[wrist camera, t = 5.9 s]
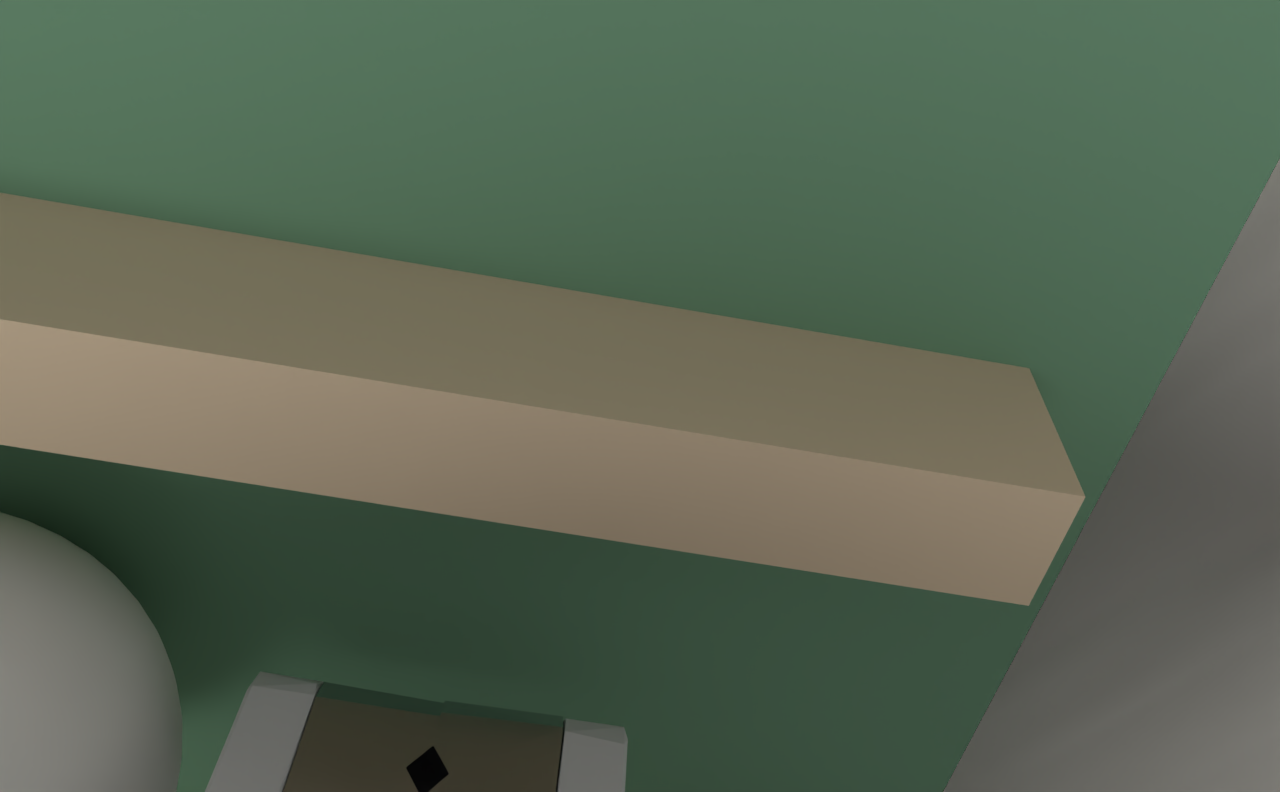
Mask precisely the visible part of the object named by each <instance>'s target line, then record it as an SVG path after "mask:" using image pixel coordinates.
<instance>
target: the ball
mask: <svg viewBox="0 0 1280 792" xmlns="http://www.w3.org/2000/svg"><path fill="white" fill-rule="evenodd" d="M181 759H182V714H181V707H180V700H179V695H178V689H177V684H176V679H175V676H174V672H173V669H172V666H171V663H170V660H169V658H168V655H167V652H166V650H165V647H164V645H163V642H162V640H161V638H160V636H159V633H158V631H157V630H156V628H155V626H154V625H153V623H152V622H151V620H150V619H149V617H148V615H147V614H146V612H145V611H144V609H143V608H142V606H141V604H140V603H139V602H138V600H137V599H136V598H135V597H134V596H133V595H132V593H131V592H130V591H129V590H128V589H127V588H126V587H125V586H124V584H123V583H122V582H121V581H120V580H119V579H118V578H117V577H116V576H115V575H114V574H113V573H112V572H111V571H110V570H109V569H107V568H106V567H105V566H104V565H103V564H101V563H100V562H99V561H98V560H97V559H95V558H94V557H93V556H92V555H91V554H89V553H88V552H86V551H84V550H83V549H81V548H79V547H78V546H76V545H75V544H73V543H71V542H70V541H68V540H67V539H65V538H63V537H62V536H60V535H58V534H56V533H54V532H51V531H49V530H47V529H45V528H43V527H40V526H38V525H36V524H34V523H32V522H29V521H27V520H24V519H21V518H17V517H14V516H11V515H8V514H4V513H1V512H0V792H176V789H177V784H178V778H179V772H180V766H181Z"/></svg>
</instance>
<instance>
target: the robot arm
mask: <svg viewBox="0 0 1280 792" xmlns="http://www.w3.org/2000/svg"><path fill="white" fill-rule="evenodd" d="M627 745H628V738H627V735H626V732H625V729H624V727H622V726H615V725H608V724H601V723H594V722H587V721H580V720H573V719H565V720H564V721H563V716H556V715H549V714H541V713H534V712H526V711H519V710H512V709H504V708H497V707H490V706H482V705H475V704H467V703H460V702H453V701H445V702H444V703H441V702H436V701H430V700H424V699H419V698H413V697H407V696H402V695H396V694H391V693H385V692H379V691H374V690H368V689H362V688H357V687H351V686H345V685H340V684H334V683H328V682H323V681H317V680H310V679H304V678H298V677H291V676H285V675H279V674H273V673H266V672H259V674H258V675H257V677H256V678H255V679H254V681H253V682H252V683H251V685H250V686H249V687H248V689H247V691H246V693H245V696H244V698H243V701H242V703H241V706H240V708H239V710H238V713H237V715H236V718H235V720H234V722H233V725H232V727H231V730H230V732H229V735H228V737H227V739H226V742H225V744H224V747H223V749H222V751H221V754H220V756H219V759H218V761H217V763H216V766H215V768H214V771H213V773H212V776H211V778H210V780H209V783H208V785H207V788H206V790H205V792H625V781H626V763H627Z"/></svg>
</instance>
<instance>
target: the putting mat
mask: <svg viewBox="0 0 1280 792" xmlns="http://www.w3.org/2000/svg"><path fill="white" fill-rule="evenodd" d="M1279 158H1280V0H0V512H1V513H4V514H8V515H11V516H14V517H17V518H21V519H24V520H27V521H29V522H32V523H34V524H36V525H38V526H40V527H43V528H45V529H47V530H49V531H51V532H54V533H56V534H58V535H60V536H62V537H63V538H65V539H67V540H68V541H70V542H71V543H73V544H75V545H76V546H78V547H79V548H81V549H83V550H84V551H86V552H88V553H89V554H91V555H92V556H93V557H94V558H95V559H97V560H98V561H99V562H100V563H101V564H103V565H104V566H105V567H106V568H107V569H109V570H110V571H111V572H112V573H113V574H114V575H115V576H116V577H117V578H118V579H119V580H120V581H121V582H122V583H123V584H124V586H125V587H126V588H127V589H128V590H129V591H130V592H131V593H132V595H133V596H134V597H135V598H136V599H137V600H138V602H139V603H140V604H141V606H142V608H143V609H144V611H145V612H146V614H147V615H148V617H149V619H150V620H151V622H152V623H153V625H154V626H155V628H156V630H157V631H158V633H159V636H160V638H161V640H162V642H163V645H164V647H165V650H166V652H167V655H168V658H169V660H170V663H171V666H172V669H173V672H174V676H175V679H176V684H177V689H178V695H179V700H180V707H181V714H182V759H181V766H180V772H179V778H178V784H177V789H176V792H205V790H206V788H207V785H208V783H209V780H210V778H211V776H212V773H213V771H214V768H215V766H216V763H217V761H218V759H219V756H220V754H221V751H222V749H223V747H224V744H225V742H226V739H227V737H228V735H229V732H230V730H231V727H232V725H233V722H234V720H235V718H236V715H237V713H238V710H239V708H240V706H241V703H242V701H243V698H244V696H245V693H246V691H247V689H248V687H249V686H250V685H251V683H252V682H253V681H254V679H255V678H256V677H257V675H258V674H259V672H266V673H273V674H279V675H285V676H291V677H298V678H304V679H310V680H317V681H323V682H328V683H334V684H340V685H345V686H351V687H357V688H362V689H368V690H374V691H379V692H385V693H391V694H396V695H402V696H407V697H413V698H419V699H424V700H430V701H436V702H441V703H444V702H445V701H453V702H460V703H467V704H475V705H482V706H490V707H497V708H504V709H512V710H519V711H526V712H534V713H541V714H549V715H556V716H563V721H564V720H565V719H573V720H580V721H587V722H594V723H601V724H608V725H615V726H622V727H624V729H625V732H626V735H627V738H628V745H627V763H626V781H625V792H943V791H944V789H945V787H946V785H947V783H948V781H949V779H950V778H951V776H952V774H953V772H954V770H955V768H956V766H957V764H958V762H959V761H960V759H961V757H962V755H963V753H964V751H965V749H966V747H967V746H968V744H969V742H970V740H971V738H972V736H973V734H974V732H975V730H976V729H977V727H978V725H979V723H980V721H981V719H982V717H983V715H984V714H985V712H986V710H987V708H988V706H989V704H990V702H991V700H992V698H993V697H994V695H995V693H996V691H997V689H998V687H999V685H1000V683H1001V682H1002V680H1003V678H1004V676H1005V674H1006V672H1007V670H1008V668H1009V667H1010V665H1011V663H1012V661H1013V659H1014V657H1015V655H1016V653H1017V651H1018V650H1019V648H1020V646H1021V644H1022V642H1023V640H1024V638H1025V636H1026V635H1027V633H1028V631H1029V629H1030V627H1031V625H1032V623H1033V621H1034V619H1035V618H1036V616H1037V614H1038V612H1039V610H1040V608H1041V606H1042V604H1043V603H1044V601H1045V599H1046V597H1047V595H1048V593H1049V591H1050V589H1051V587H1052V586H1053V584H1054V582H1055V580H1056V578H1057V576H1058V574H1059V572H1060V571H1061V569H1062V567H1063V565H1064V563H1065V561H1066V559H1067V557H1068V555H1069V554H1070V552H1071V550H1072V548H1073V546H1074V544H1075V542H1076V540H1077V539H1078V537H1079V535H1080V533H1081V531H1082V529H1083V527H1084V525H1085V523H1086V522H1087V520H1088V518H1089V516H1090V514H1091V512H1092V510H1093V508H1094V507H1095V505H1096V503H1097V501H1098V499H1099V497H1100V495H1101V493H1102V492H1103V490H1104V488H1105V486H1106V484H1107V482H1108V480H1109V478H1110V476H1111V475H1112V473H1113V471H1114V469H1115V467H1116V465H1117V463H1118V461H1119V460H1120V458H1121V456H1122V454H1123V452H1124V450H1125V448H1126V446H1127V444H1128V443H1129V441H1130V439H1131V437H1132V435H1133V433H1134V431H1135V429H1136V428H1137V426H1138V424H1139V422H1140V420H1141V418H1142V416H1143V414H1144V412H1145V411H1146V409H1147V407H1148V405H1149V403H1150V401H1151V399H1152V397H1153V396H1154V394H1155V392H1156V390H1157V388H1158V386H1159V384H1160V382H1161V380H1162V379H1163V377H1164V375H1165V373H1166V371H1167V369H1168V367H1169V365H1170V364H1171V362H1172V360H1173V358H1174V356H1175V354H1176V352H1177V350H1178V348H1179V347H1180V345H1181V343H1182V341H1183V339H1184V337H1185V335H1186V333H1187V332H1188V330H1189V328H1190V326H1191V324H1192V322H1193V320H1194V318H1195V317H1196V315H1197V313H1198V311H1199V309H1200V307H1201V305H1202V303H1203V301H1204V300H1205V298H1206V296H1207V294H1208V292H1209V290H1210V288H1211V286H1212V285H1213V283H1214V281H1215V279H1216V277H1217V275H1218V273H1219V271H1220V269H1221V268H1222V266H1223V264H1224V262H1225V260H1226V258H1227V256H1228V254H1229V253H1230V251H1231V249H1232V247H1233V245H1234V243H1235V241H1236V239H1237V237H1238V236H1239V234H1240V232H1241V230H1242V228H1243V226H1244V224H1245V222H1246V221H1247V219H1248V217H1249V215H1250V213H1251V211H1252V209H1253V207H1254V205H1255V204H1256V202H1257V200H1258V198H1259V196H1260V194H1261V192H1262V190H1263V189H1264V187H1265V185H1266V183H1267V181H1268V179H1269V177H1270V175H1271V173H1272V172H1273V170H1274V168H1275V166H1276V164H1277V162H1278V160H1279Z"/></svg>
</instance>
